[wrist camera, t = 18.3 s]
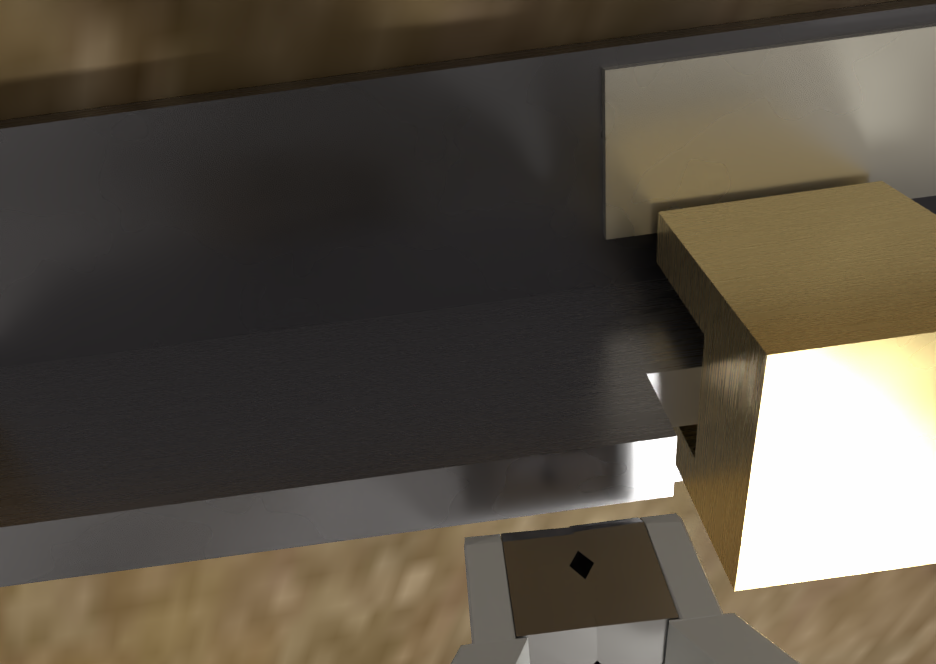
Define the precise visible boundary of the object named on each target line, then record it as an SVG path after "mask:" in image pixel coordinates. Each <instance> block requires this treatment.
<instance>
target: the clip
mask: <svg viewBox="0 0 936 664" xmlns="http://www.w3.org/2000/svg"><path fill="white" fill-rule="evenodd" d="M656 262H657V264H658V265H659V267H660V268H661V270H662V271H663V273H664V274H665V276H666V277H667V279H668V280H669V282H670V283H671V285H672V286H673V288H674V289H675V291H676V292H677V294H678V295H679V297H680V298H681V300H682V301H683V303H684V304H685V306H686V307H687V309H688V311H689V312H690V314H691V315H692V317H693V318H694V320H695V321H696V323H697V324H698V326H699V327H700V329H701V330H702V332H703V333H704V335H705V336H704V349H703V361H702V374H701V386H700V399H699V411H698V424H694V425H686V426H679V427H673V429H674V431H675V433H676V435H677V446H676V461H675V464H676V466H677V468H678V470H679V473H680V475H681V477H682V479H683V481H684V483H685V486H686V488H687V490H688V492H689V494H690V496H691V499H692V501H693V503H694V505H695V507H696V509H697V511H698V514H699V516H700V518H701V520H702V522H703V524H704V527H705V529H706V531H707V533H708V535H709V537H710V540H711V542H712V544H713V546H714V548H715V550H716V552H717V555H718V557H719V559H720V561H721V563H722V565H723V568H724V570H725V572H726V574H727V576H728V578H729V581H730V583H731V585H732V587H733V589H734V591H740V590H747V589H754V588H761V587H768V586H776V585H783V584H790V583H797V582H805V581H812V580H819V579H826V578H834V577H841V576H848V575H855V574H862V573H870V572H877V571H884V570H891V569H899V568H906V567H913V566H920V565H928V564H935V563H936V214H934V213H932V212H931V211H929V210H928V209H926V208H924V207H923V206H921V205H920V204H918V203H916V202H915V201H913V200H912V199H910V198H908V197H907V196H905V195H904V194H902V193H900V192H899V191H897V190H896V189H894V188H892V187H891V186H889V185H888V184H886V183H885V182H883V181H877V182H870V183H862V184H855V185H848V186H841V187H834V188H826V189H819V190H812V191H805V192H798V193H790V194H783V195H776V196H769V197H761V198H754V199H747V200H740V201H733V202H725V203H718V204H711V205H704V206H697V207H689V208H682V209H675V210H668V211H660V212H658V229H657V259H656Z"/></svg>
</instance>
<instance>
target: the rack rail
mask: <svg viewBox="0 0 936 664" xmlns="http://www.w3.org/2000/svg"><path fill="white" fill-rule="evenodd" d="M877 181H883V182H885V183H886V184H888V185H889V186H891V187H892V188H894V189H896V190H897V191H899V192H900V193H902V194H904V195H905V196H907V197H908V198H910V199H912V200H913V201H915V202H916V203H918V204H920V205H921V206H923V207H924V208H926V209H928V210H929V211H931V212H932V213H934V214H936V0H899V1H892V2H884V3H877V4H869V5H862V6H854V7H847V8H840V9H832V10H825V11H817V12H810V13H802V14H795V15H787V16H780V17H772V18H765V19H757V20H750V21H742V22H735V23H727V24H720V25H712V26H705V27H697V28H690V29H682V30H675V31H667V32H660V33H653V34H645V35H638V36H630V37H623V38H615V39H608V40H600V41H593V42H585V43H578V44H570V45H563V46H555V47H548V48H540V49H533V50H525V51H518V52H510V53H503V54H495V55H488V56H481V57H473V58H466V59H458V60H451V61H443V62H436V63H428V64H421V65H413V66H406V67H398V68H391V69H383V70H376V71H368V72H361V73H353V74H346V75H338V76H331V77H323V78H316V79H309V80H301V81H294V82H286V83H279V84H271V85H264V86H256V87H249V88H241V89H234V90H226V91H219V92H211V93H204V94H196V95H189V96H181V97H174V98H166V99H159V100H151V101H144V102H136V103H129V104H122V105H114V106H107V107H99V108H92V109H84V110H77V111H69V112H62V113H54V114H47V115H39V116H32V117H24V118H17V119H9V120H2V121H0V587H4V586H11V585H19V584H26V583H34V582H41V581H48V580H56V579H63V578H71V577H78V576H85V575H93V574H100V573H108V572H115V571H122V570H130V569H137V568H145V567H152V566H159V565H167V564H174V563H182V562H189V561H197V560H204V559H211V558H219V557H226V556H234V555H241V554H248V553H256V552H263V551H271V550H278V549H285V548H293V547H300V546H308V545H315V544H322V543H330V542H337V541H345V540H352V539H359V538H367V537H374V536H382V535H389V534H397V533H404V532H411V531H419V530H426V529H434V528H441V527H448V526H456V525H463V524H471V523H478V522H485V521H493V520H500V519H508V518H515V517H522V516H530V515H537V514H545V513H552V512H559V511H567V510H574V509H582V508H589V507H597V506H604V505H611V504H619V503H626V502H634V501H641V500H648V499H656V498H663V497H671V496H673V491H674V482H679V481H683V479H682V477H681V475H680V473H679V470H678V468H677V466H676V464H675V461H676V446H677V435H676V433H675V431H674V429H673V427H679V426H686V425H694V424H698V411H699V399H700V386H701V374H702V361H703V349H704V336H705V335H704V333H703V332H702V330H701V329H700V327H699V326H698V324H697V323H696V321H695V320H694V318H693V317H692V315H691V314H690V312H689V311H688V309H687V307H686V306H685V304H684V303H683V301H682V300H681V298H680V297H679V295H678V294H677V292H676V291H675V289H674V288H673V286H672V285H671V283H670V282H669V280H668V279H667V277H666V276H665V274H664V273H663V271H662V270H661V268H660V267H659V265H658V264H657V262H656V259H657V229H658V212H660V211H668V210H675V209H682V208H689V207H697V206H704V205H711V204H718V203H725V202H733V201H740V200H747V199H754V198H761V197H769V196H776V195H783V194H790V193H798V192H805V191H812V190H819V189H826V188H834V187H841V186H848V185H855V184H862V183H870V182H877Z"/></svg>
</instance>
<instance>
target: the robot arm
mask: <svg viewBox="0 0 936 664" xmlns="http://www.w3.org/2000/svg"><path fill="white" fill-rule="evenodd" d="M464 551H465V564H466V576H467V588H468V600H469V612H470V625H471V637H472V644H467V645H461V647H460V648H459V650H458V652H457V654H456V655H455V657H454V659H453V661H452V663H451V664H800V663H799V662H798V661H796V660H795V659H794V658H792V657H791V656H790V655H788V654H787V653H786V652H785V651H783V650H782V649H781V648H779V647H778V646H777V645H776V644H774V643H773V642H772V641H770V640H769V639H768V638H766V637H765V636H764V635H763V634H761V633H760V632H759V631H757V630H756V629H755V628H753V627H752V626H751V625H750V624H748V623H747V622H746V621H744V620H743V619H742V618H740V617H739V616H738V615H737V614H735V613H727V614H723V612H722V610H721V607H720V605H719V603H718V601H717V598H716V596H715V594H714V592H713V589H712V587H711V585H710V582H709V580H708V578H707V576H706V573H705V571H704V569H703V566H702V564H701V562H700V560H699V557H698V555H697V553H696V550H695V548H694V546H693V544H692V541H691V539H690V537H689V535H688V532H687V530H686V528H685V525H684V523H683V521H682V519H681V518H680V517H679V516H678V515H677V514H676V513H675V514H667V515H659V516H650V517H642V518H640V519H639V518H630V519H622V520H615V521H607V522H599V523H591V524H584V525H576V526H570V527H569V528H558V529H547V530H536V531H525V532H514V533H503V534H501V536H500V534H497V535H487V536H477V537H467V538H465V544H464Z"/></svg>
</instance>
